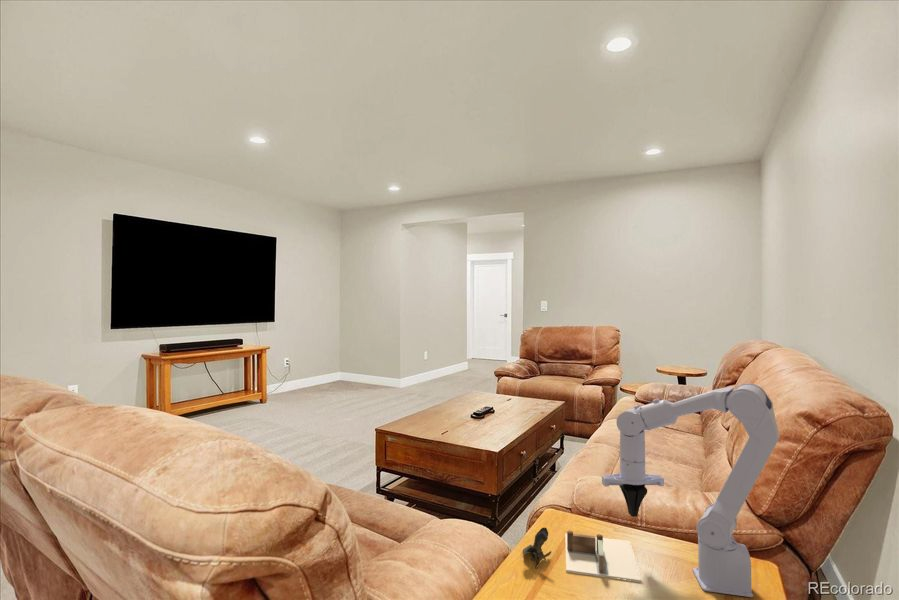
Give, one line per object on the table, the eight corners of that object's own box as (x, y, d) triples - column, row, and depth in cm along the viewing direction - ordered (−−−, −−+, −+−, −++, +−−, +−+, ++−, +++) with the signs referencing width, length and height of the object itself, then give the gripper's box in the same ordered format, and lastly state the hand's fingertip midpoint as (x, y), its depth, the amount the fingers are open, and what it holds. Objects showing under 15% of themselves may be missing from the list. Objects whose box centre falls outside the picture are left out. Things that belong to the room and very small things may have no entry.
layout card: (629, 543, 113) (629, 540, 113) (641, 582, 97) (641, 580, 97) (565, 535, 117) (565, 533, 117) (566, 572, 101) (566, 569, 101)
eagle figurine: (561, 565, 102) (555, 538, 110) (544, 541, 101) (539, 515, 110) (532, 580, 103) (528, 552, 112) (515, 556, 102) (513, 530, 111)
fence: (602, 552, 108) (602, 534, 108) (603, 555, 107) (603, 537, 107) (567, 548, 110) (567, 530, 110) (567, 551, 109) (567, 533, 109)
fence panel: (597, 554, 107) (597, 539, 107) (602, 555, 106) (602, 540, 106) (598, 571, 100) (598, 555, 100) (604, 572, 99) (604, 556, 100)
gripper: (653, 453, 113) (654, 507, 113) (597, 453, 113) (597, 507, 112) (668, 463, 106) (668, 520, 106) (607, 463, 106) (608, 521, 105)
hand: (632, 514), depth 109 cm, fingers closed
